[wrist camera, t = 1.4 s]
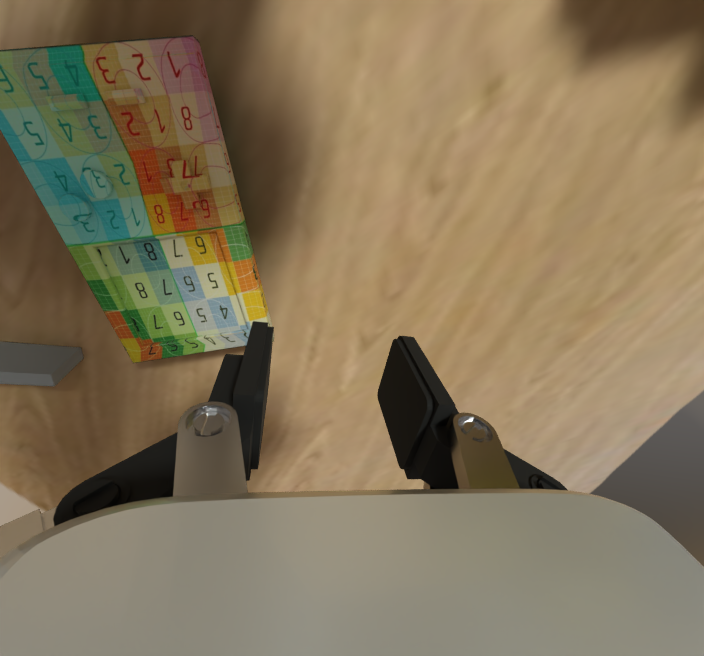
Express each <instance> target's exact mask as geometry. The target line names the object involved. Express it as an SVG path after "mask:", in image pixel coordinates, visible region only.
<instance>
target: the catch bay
mask: <svg viewBox="0 0 704 656" xmlns="http://www.w3.org/2000/svg"><path fill="white" fill-rule="evenodd" d="M82 359H83V354H82V350H81V347H67V346H54V345H40V344H26V343H13V342H0V384H17V385H37V386H56V385H57V384H58V383H59V382H60V381H61V380H62V379H63V378H64V377H65V376H66V375H67V374H68V373H69V372H70V371H71V370H72V369H73V368H74V367H75V366H76V365H77V364H78V363H79V362H80V361H81V360H82Z"/></svg>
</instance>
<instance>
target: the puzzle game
mask: <svg viewBox="0 0 704 656" xmlns="http://www.w3.org/2000/svg"><path fill="white" fill-rule="evenodd" d="M0 130H1V132H2V133H3V135H4V137H5V139H6V140H7V142H8V144H9V146H10V148H11V149H12V151H13V153H14V155H15V156H16V158H17V160H18V162H19V163H20V165H21V167H22V169H23V170H24V172H25V174H26V176H27V177H28V179H29V181H30V183H31V184H32V186H33V188H34V190H35V191H36V193H37V195H38V197H39V198H40V200H41V202H42V204H43V205H44V207H45V209H46V211H47V213H48V214H49V216H50V218H51V220H52V221H53V223H54V225H55V227H56V228H57V230H58V232H59V234H60V235H61V237H62V239H63V241H64V242H65V244H66V246H67V248H68V249H69V251H70V253H71V255H72V256H73V258H74V260H75V262H76V263H77V265H78V267H79V269H80V270H81V272H82V274H83V276H84V278H85V279H86V281H87V283H88V285H89V286H90V288H91V290H92V292H93V293H94V295H95V297H96V299H97V300H98V302H99V304H100V306H101V307H102V309H103V311H104V313H105V314H106V316H107V318H108V320H109V321H110V323H111V325H112V327H113V328H114V330H115V332H116V334H117V335H118V337H119V339H120V341H121V343H122V344H123V346H124V348H125V350H126V351H127V353H128V355H129V357H130V358H131V360H132V362H133V363H138V362H144V361H150V360H157V359H163V358H170V357H176V356H183V355H189V354H196V353H202V352H209V351H215V350H221V349H228V348H234V347H241V346H246V345H247V341H248V337H249V334H250V330H251V326H252V323H253V321H257V322H267V323H268V326H269V327H272V323H271V319H270V315H269V311H268V308H267V304H266V300H265V296H264V292H263V288H262V284H261V280H260V277H259V273H258V269H257V265H256V261H255V257H254V253H253V249H252V246H251V242H250V238H249V234H248V230H247V226H246V222H245V218H244V215H243V211H242V207H241V203H240V199H239V195H238V191H237V187H236V183H235V180H234V176H233V172H232V168H231V164H230V160H229V156H228V152H227V149H226V145H225V141H224V137H223V133H222V129H221V125H220V121H219V118H218V114H217V110H216V106H215V102H214V98H213V94H212V90H211V86H210V83H209V79H208V75H207V71H206V67H205V63H204V59H203V55H202V52H201V48H200V44H199V41H198V40H197V39H196V38H195V37H194V36H193V35H188V36H176V37H163V38H150V39H137V40H124V41H111V42H98V43H86V44H73V45H60V46H47V47H34V48H21V49H9V50H0ZM273 341H274V332H273Z"/></svg>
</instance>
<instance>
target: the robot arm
mask: <svg viewBox="0 0 704 656" xmlns="http://www.w3.org/2000/svg"><path fill="white" fill-rule="evenodd" d="M273 331H274V327H269V326H268V323H267V322H257V321H253V323H252V326H251V330H250V334H249V337H248V341H247V345H246V348H245V352H244V355H233V354H226V355H225V357H224V359H223V362H222V365H221V368H220V370H219V373H218V376H217V379H216V382H215V384H214V387H213V390H212V393H211V395H210V398H209V401H208V402H204V403H200V404H197V405H195V406H193V407H191V408H190V409H188V410H187V411H185V412H184V414H183V415H182V416H181V417H180V420H179V423H178V432H177V433H175V434H173V435H171V436H169V437H167V438H166V439H164V440H162V441H160V442H158V443H156V444H154V445H152V446H150V447H148V448H147V449H145V450H143V451H141V452H139V453H137V454H135V455H133V456H131V457H129V458H128V459H126V460H124V461H122V462H120V463H118V464H116V465H114V466H112V467H110V468H108V469H107V470H105V471H103V472H101V473H99V474H97V475H95V476H93V477H91V478H89V479H88V480H86V481H84V482H82V483H81V484H79V485H78V486H76V487H75V488H73V489H72V490H71V491H70V492H69V493H68V494H67V495H66V496H65V497H64V498H63V499H62V500H61V502H60V503H59V505H58V506H57V507H55V508H53V509H50V510H48V511H46V512H44V513H42V514H41V512H40V509H38V510H36V511H33V512H31V513H29V514H27V515H24V516H22V517H20V518H18V519H15V520H13V521H11V522H9V523H6V524H4V525H2V526H0V656H704V567H703V566H702V565H701V564H700V563H699V562H698V561H697V560H696V559H695V558H694V557H693V556H692V555H691V554H690V553H689V552H688V551H687V550H686V549H685V548H684V547H683V546H682V545H681V544H679V543H678V542H677V541H676V540H675V539H674V538H673V537H672V536H671V535H670V534H669V533H668V532H666V531H665V530H664V529H663V528H662V527H661V526H660V525H658V524H657V523H656V522H655V521H653V520H652V519H651V518H649V517H648V516H646V515H644V514H643V513H641V512H639V511H637V510H635V509H633V508H631V507H628V506H626V505H624V504H621V503H618V502H615V501H612V500H610V499H607V498H603V497H600V496H596V495H592V494H587V493H582V492H575V491H568V490H567V489H566V488H565V487H564V486H563V485H562V484H561V483H560V482H558V481H557V480H555V479H554V478H552V477H551V476H549V475H547V474H546V473H544V472H542V471H541V470H539V469H537V468H535V467H534V466H532V465H530V464H529V463H527V462H525V461H524V460H522V459H520V458H518V457H517V456H515V455H513V454H512V453H510V452H508V451H507V450H505V449H503V447H502V444H501V442H500V440H499V437H498V435H497V433H496V431H495V429H494V428H493V427H492V426H491V425H490V424H489V423H488V422H487V421H485V420H484V419H483V418H481V417H479V416H477V415H474V414H471V413H459V412H458V410H457V409H456V407H455V404H454V402H453V400H452V399H451V397H450V396H449V394H448V392H447V391H446V389H445V387H444V386H443V384H442V382H441V381H440V379H439V378H438V376H437V374H436V373H435V371H434V369H433V368H432V366H431V364H430V363H429V361H428V360H427V358H426V356H425V355H424V353H423V351H422V350H421V348H420V347H419V345H418V343H417V342H416V340H415V338H414V337H407V336H399V337H398V338H397V339H394V340H393V342H392V346H391V349H390V352H389V356H388V359H387V362H386V366H385V369H384V372H383V376H382V379H381V382H380V386H379V389H378V401H379V404H380V407H381V410H382V413H383V416H384V420H385V423H386V426H387V429H388V432H389V435H390V438H391V442H392V445H393V448H394V451H395V454H396V457H397V461H398V464H399V466H400V468H401V469H404V471H405V474H406V477H407V479H422V480H423V481H424V489H414V490H352V491H304V492H258V493H248V492H247V484H246V481H247V480H250V473H251V469H258V465H259V457H260V449H261V441H262V434H263V426H264V418H265V410H266V403H267V395H268V386H269V375H270V364H271V353H272V342H273Z"/></svg>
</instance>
